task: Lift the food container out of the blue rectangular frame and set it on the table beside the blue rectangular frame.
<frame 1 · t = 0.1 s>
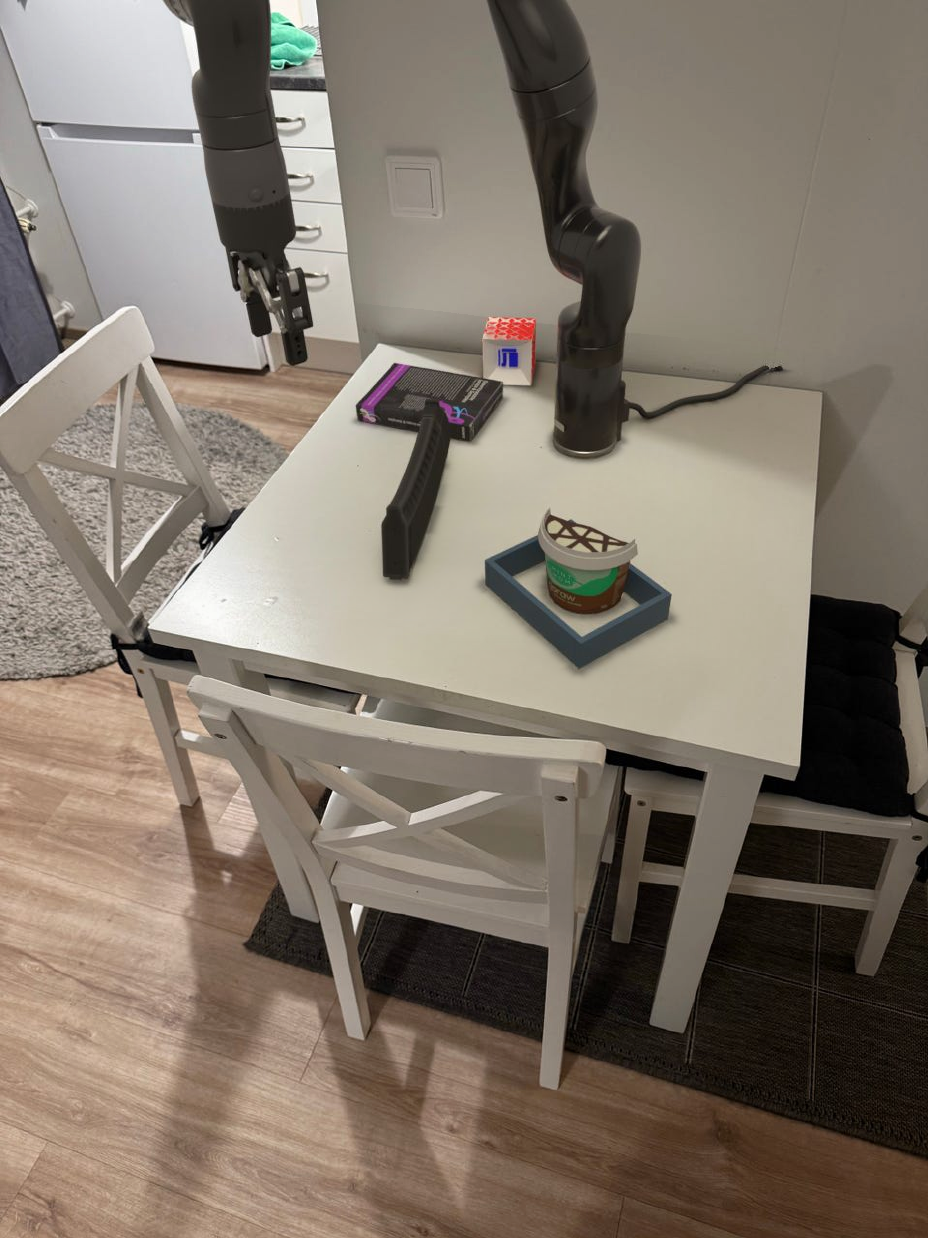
hand: (279, 348, 98), 29 cm above the table, tool pointing down, fingers open, 8 cm apart
magazine: (421, 515, 124), on the table
box: (431, 411, 144), on the table
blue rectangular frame: (574, 601, 110), on the table
white and red cube: (509, 374, 152), on the table
food container: (574, 602, 110), resting in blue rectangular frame
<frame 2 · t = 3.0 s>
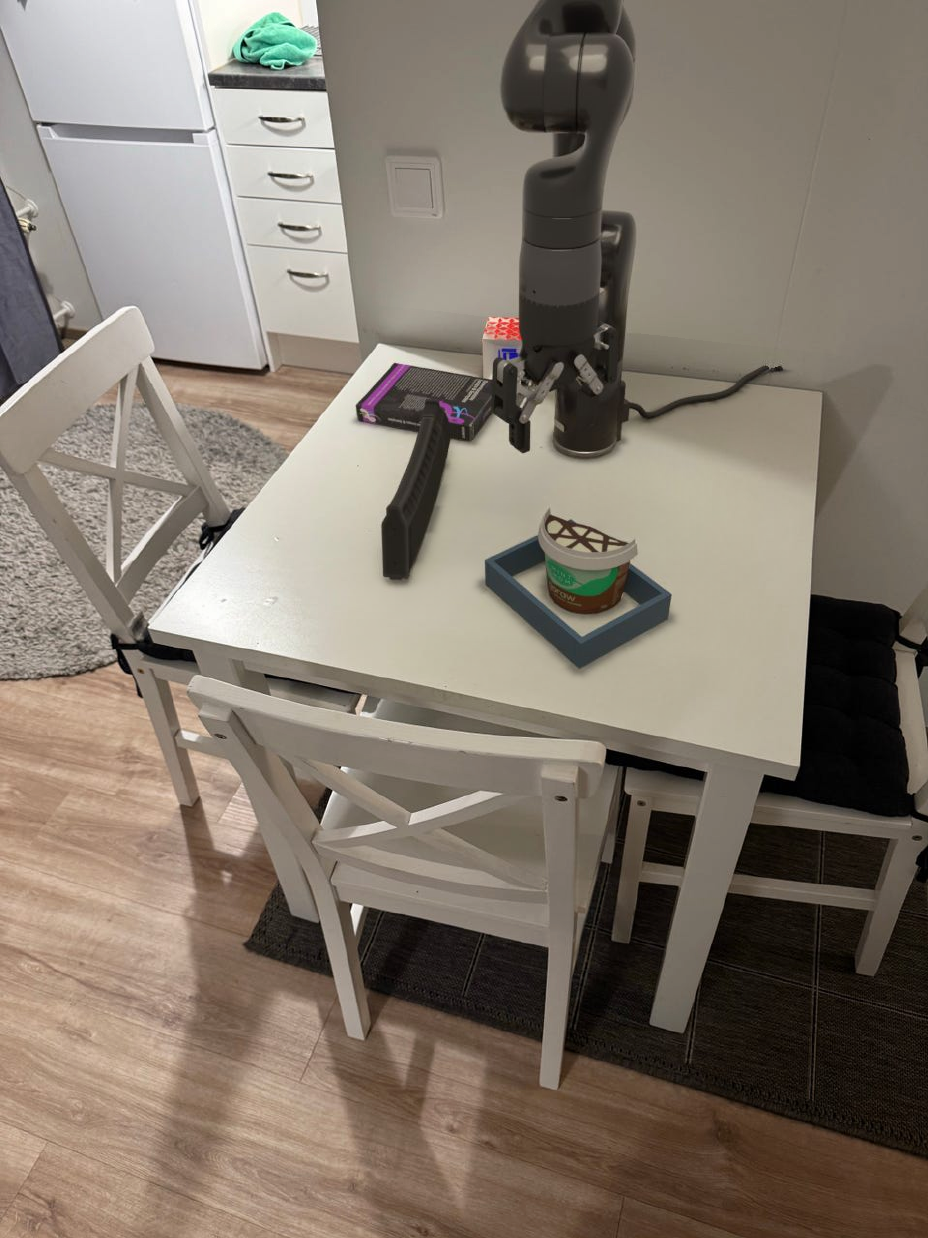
hand: (553, 436, 95), 23 cm above the table, tool pointing down, fingers open, 8 cm apart
nothing on the table moved.
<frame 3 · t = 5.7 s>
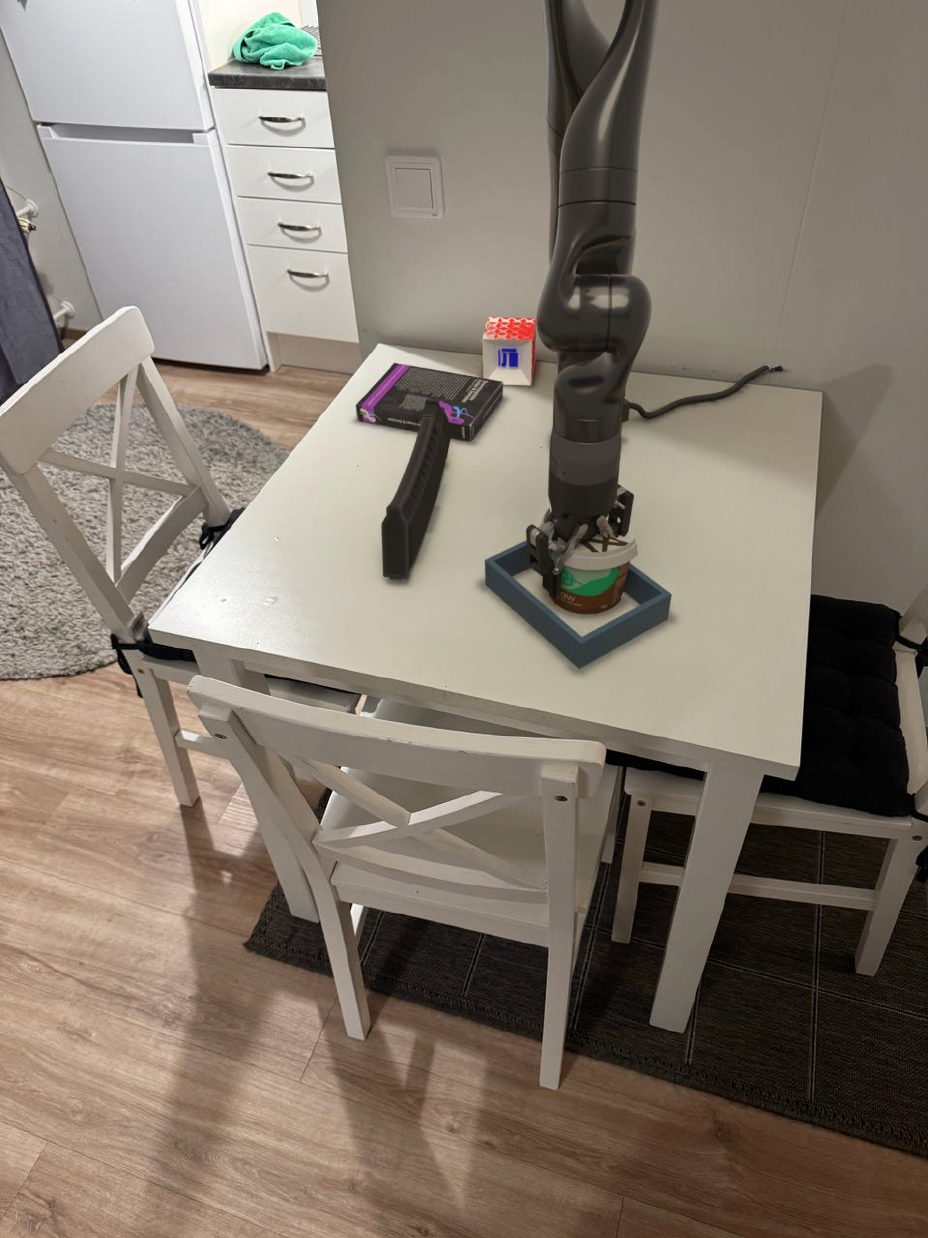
hand: (577, 579, 108), 3 cm above the table, tool pointing down, fingers closed on food container, 7 cm apart
food container: (574, 602, 110), resting in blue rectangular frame, touching gripper
everything else where it was.
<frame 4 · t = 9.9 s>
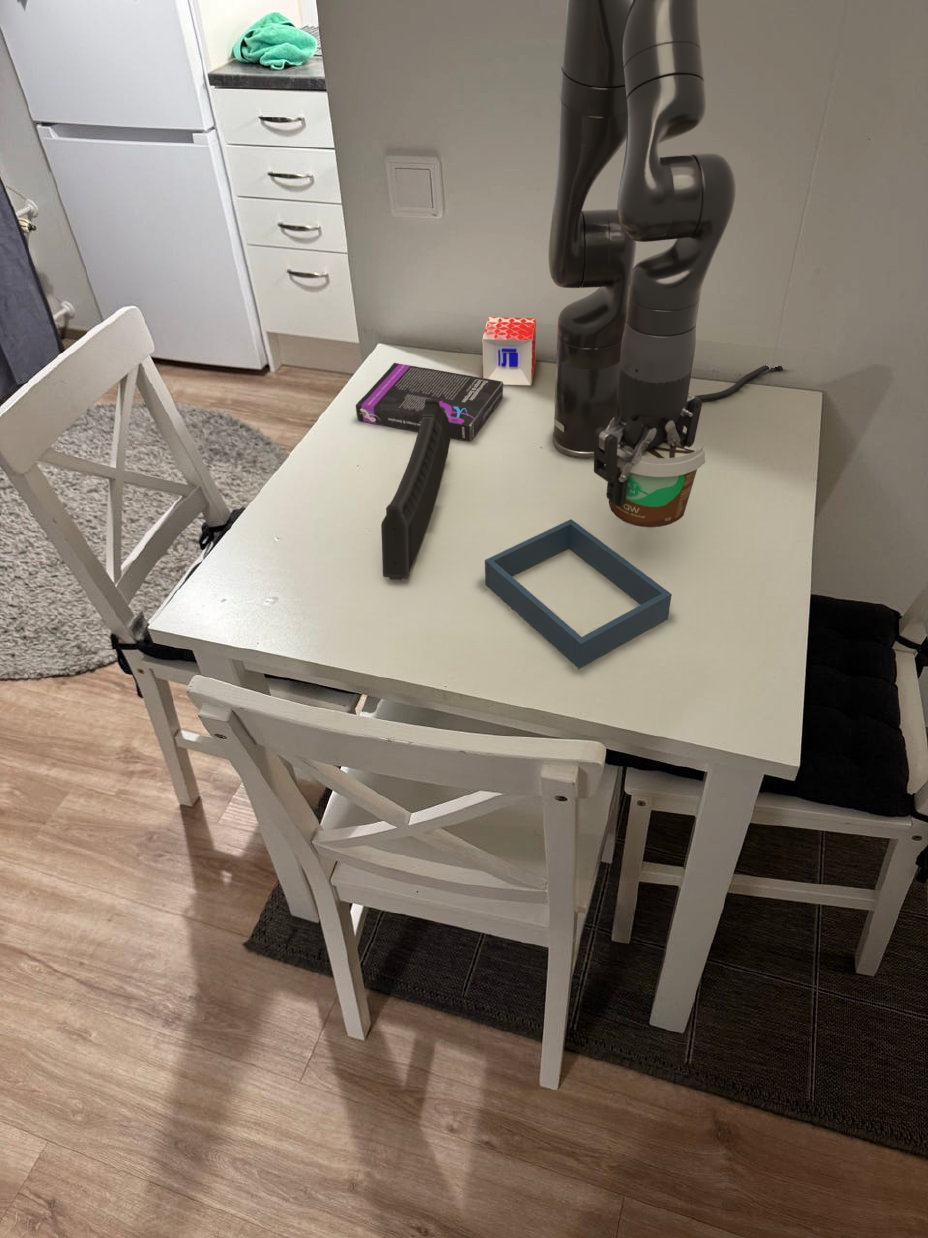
hand: (640, 491, 107), 12 cm above the table, tool pointing down, fingers closed on food container, 7 cm apart
food container: (636, 516, 109), point 8 cm above the table, touching gripper
everything else where it was.
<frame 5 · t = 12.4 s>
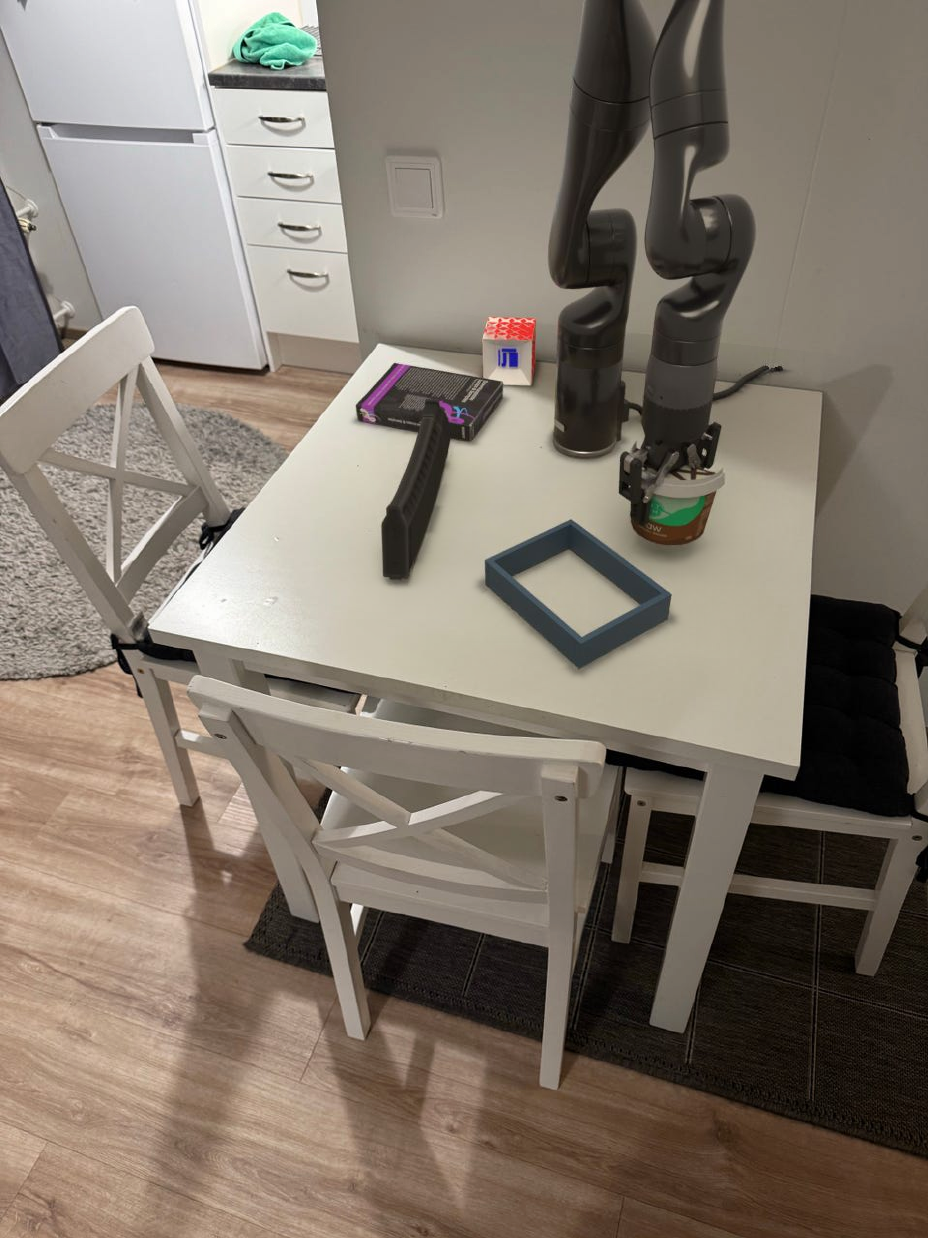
hand: (662, 511, 111), 7 cm above the table, tool pointing down, fingers closed on food container, 7 cm apart
food container: (657, 535, 113), point 3 cm above the table, touching gripper
everything else where it was.
when the fingers open (3 cm above the table, at t = 14.1 s): food container stays where it is, on the table.
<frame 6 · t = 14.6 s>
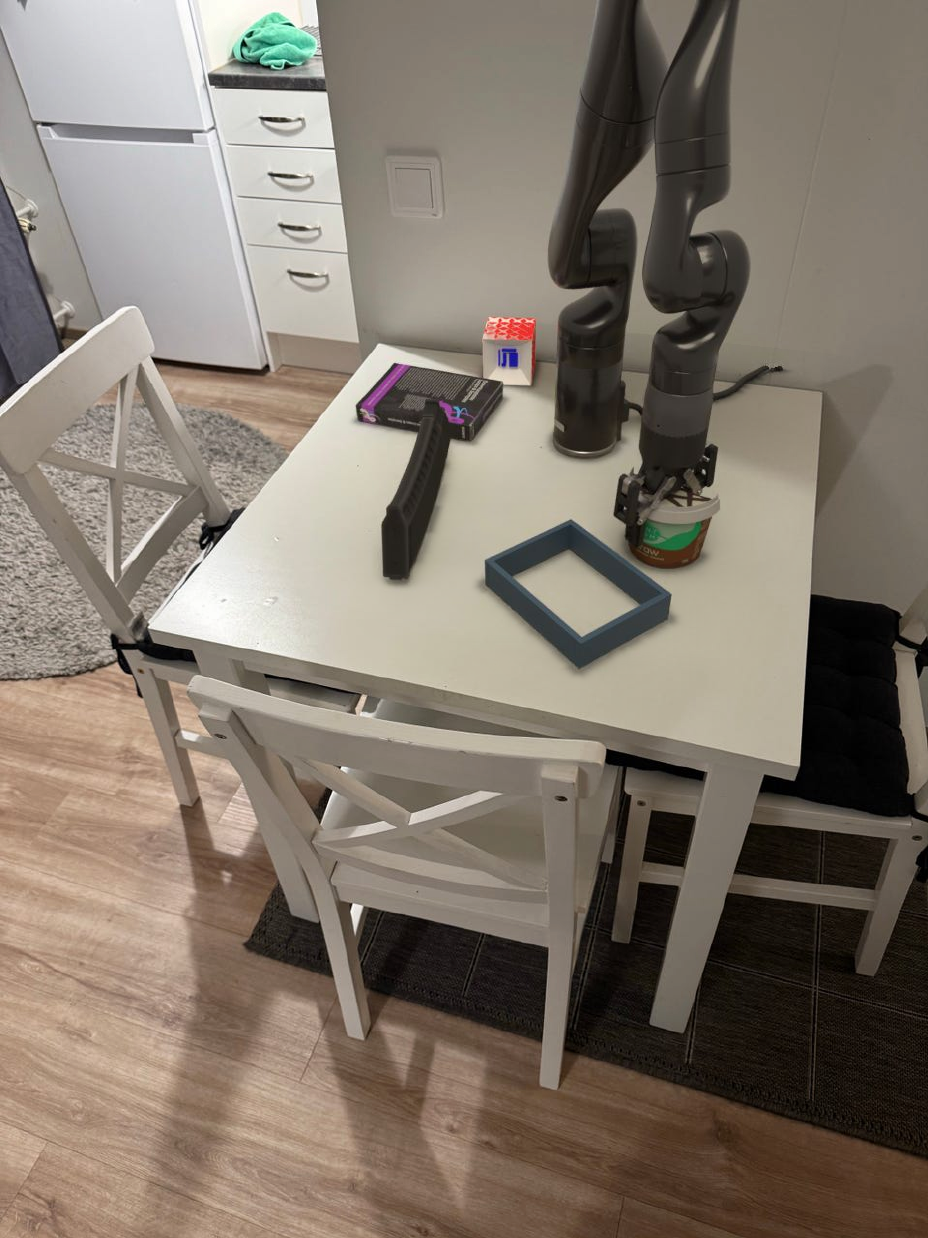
hand: (659, 530, 113), 4 cm above the table, tool pointing down, fingers open, 8 cm apart
food container: (654, 558, 116), on the table
everything else where it was.
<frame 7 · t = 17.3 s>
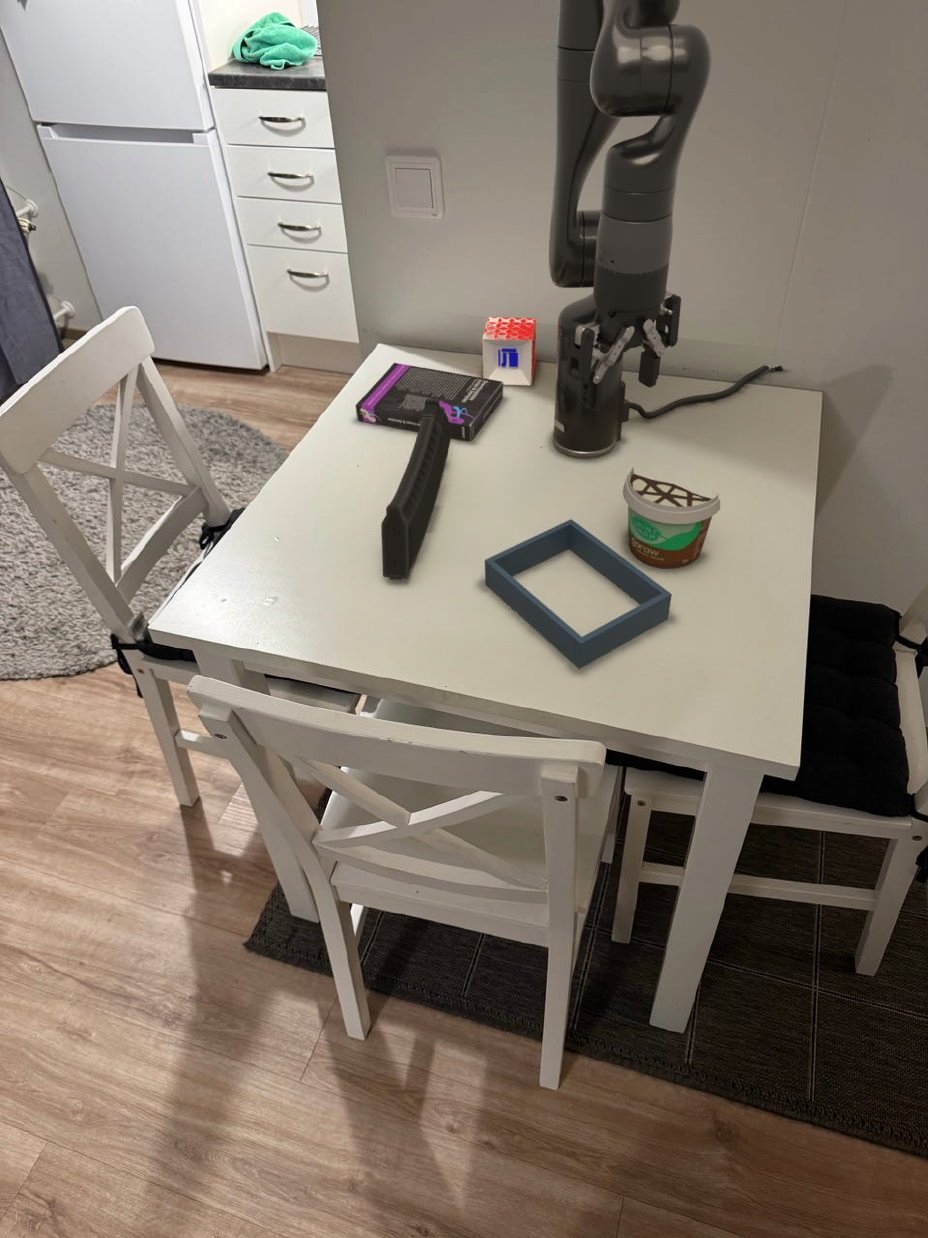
hand: (619, 395, 104), 21 cm above the table, tool pointing down, fingers open, 8 cm apart
nothing on the table moved.
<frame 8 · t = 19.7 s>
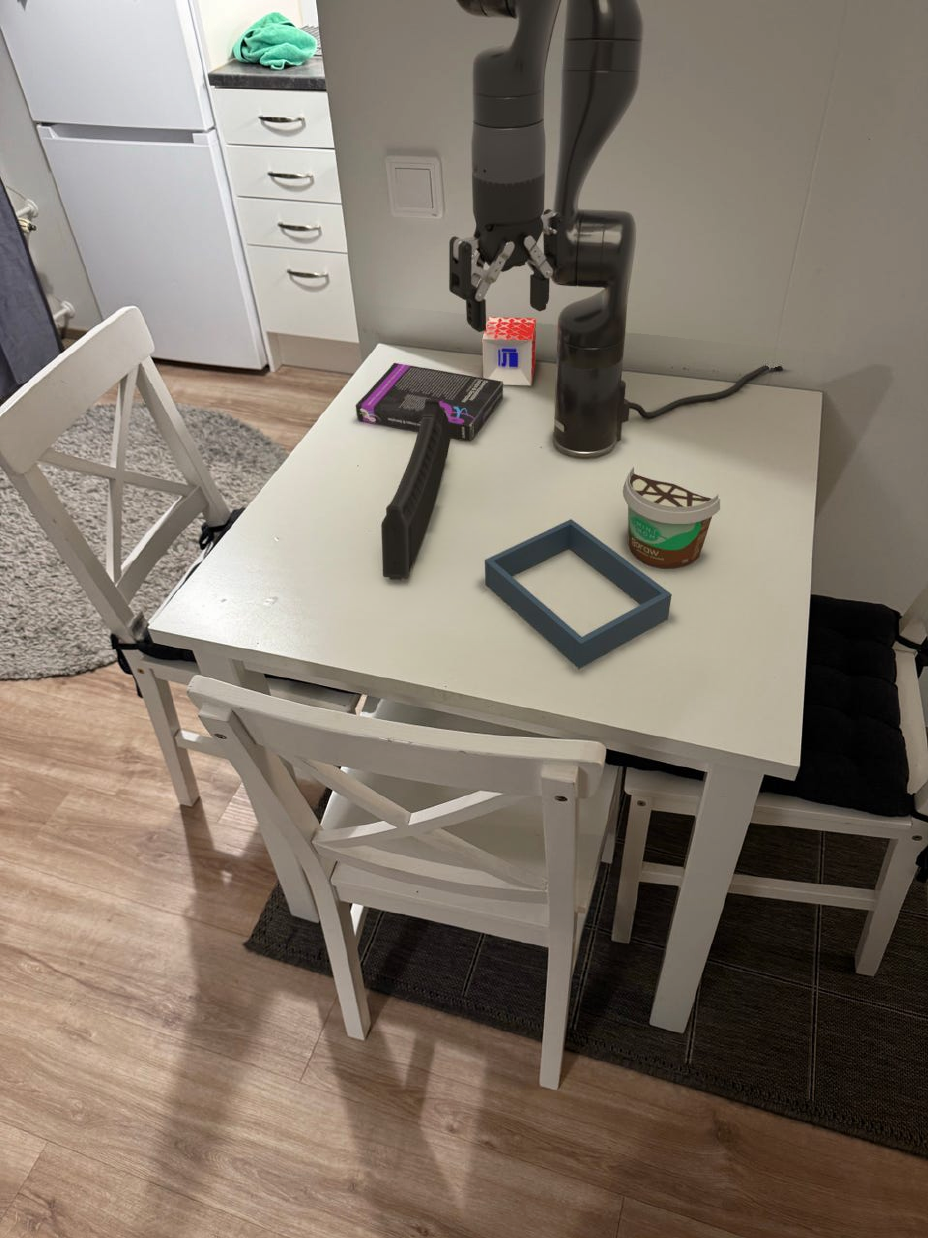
hand: (508, 318, 104), 28 cm above the table, tool pointing down, fingers open, 8 cm apart
nothing on the table moved.
at the end: food container inside the target area (0.4 cm from its centre), on the table; food container tilted 0°; the gripper is holding nothing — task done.
